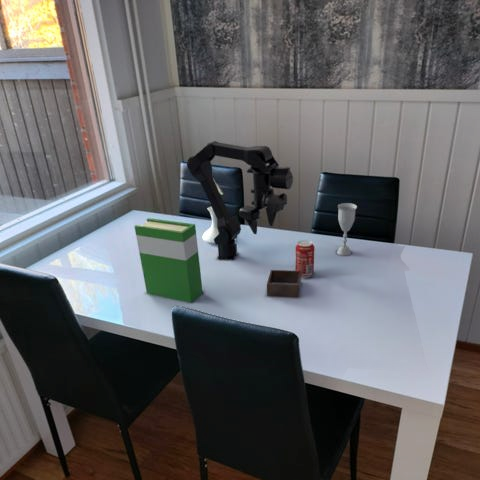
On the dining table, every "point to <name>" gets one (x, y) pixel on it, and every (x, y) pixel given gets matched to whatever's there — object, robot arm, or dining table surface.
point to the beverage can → (305, 258)
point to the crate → (284, 289)
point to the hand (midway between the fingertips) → (263, 229)
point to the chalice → (346, 223)
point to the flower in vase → (213, 230)
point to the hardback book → (170, 259)
